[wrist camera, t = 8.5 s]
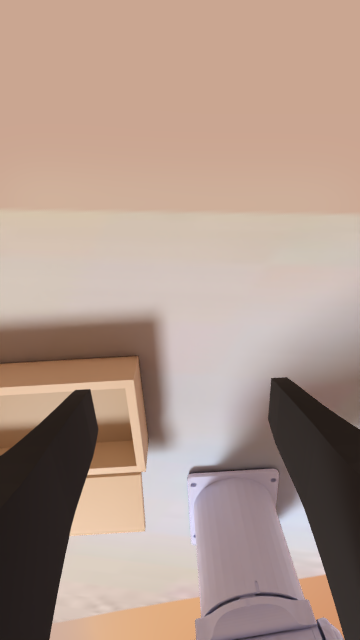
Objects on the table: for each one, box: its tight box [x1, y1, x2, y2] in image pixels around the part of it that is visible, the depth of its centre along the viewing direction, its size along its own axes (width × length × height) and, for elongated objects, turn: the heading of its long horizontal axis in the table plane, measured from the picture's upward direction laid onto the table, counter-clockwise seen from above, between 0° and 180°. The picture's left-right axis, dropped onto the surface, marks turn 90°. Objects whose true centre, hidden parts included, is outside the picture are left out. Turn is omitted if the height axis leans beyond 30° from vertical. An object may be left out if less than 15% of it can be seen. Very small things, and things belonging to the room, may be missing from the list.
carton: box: [0, 356, 148, 475], centre depth 22 cm, size 8×16×3 cm, turn 93°
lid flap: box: [69, 472, 145, 536], centre depth 23 cm, size 4×15×1 cm, turn 93°
